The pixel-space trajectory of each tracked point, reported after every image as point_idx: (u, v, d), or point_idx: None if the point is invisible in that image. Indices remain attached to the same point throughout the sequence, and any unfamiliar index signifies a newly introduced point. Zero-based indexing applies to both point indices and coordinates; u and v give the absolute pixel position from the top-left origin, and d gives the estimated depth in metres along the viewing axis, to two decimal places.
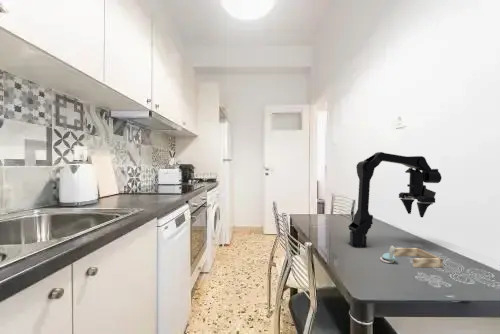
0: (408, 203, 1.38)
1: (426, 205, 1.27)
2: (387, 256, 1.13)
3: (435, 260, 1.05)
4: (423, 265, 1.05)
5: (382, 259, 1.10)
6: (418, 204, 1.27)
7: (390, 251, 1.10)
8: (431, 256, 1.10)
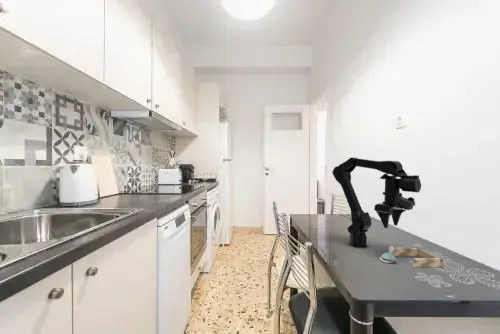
0: (396, 214, 1.23)
1: (386, 215, 1.15)
2: (386, 256, 1.13)
3: (435, 260, 1.05)
4: (423, 265, 1.05)
5: (381, 259, 1.11)
6: None
7: (389, 251, 1.10)
8: (431, 256, 1.10)
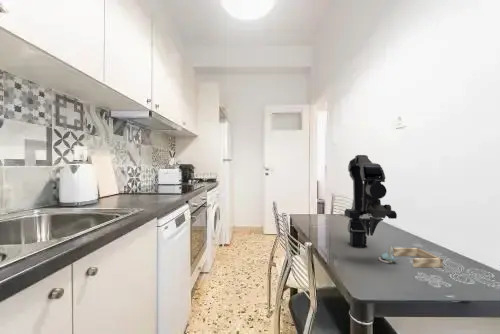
0: (372, 222, 1.11)
1: None
2: (386, 256, 1.13)
3: (435, 260, 1.05)
4: (423, 265, 1.05)
5: (381, 259, 1.11)
6: None
7: (389, 251, 1.11)
8: (431, 256, 1.10)
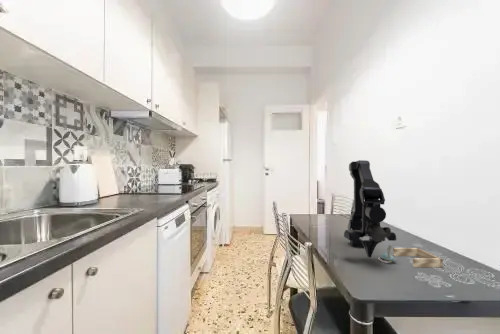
0: (370, 244, 1.11)
1: None
2: (385, 256, 1.13)
3: (435, 260, 1.05)
4: (423, 265, 1.05)
5: (380, 259, 1.11)
6: None
7: (388, 251, 1.11)
8: (431, 256, 1.10)
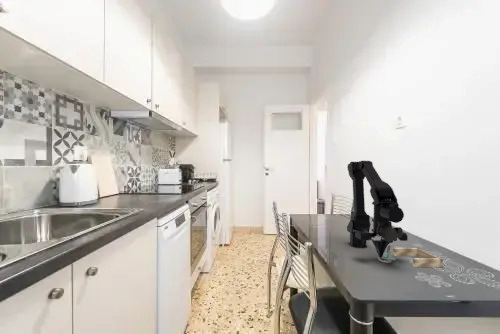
0: (381, 244, 1.11)
1: None
2: (385, 256, 1.13)
3: (435, 260, 1.05)
4: (423, 265, 1.05)
5: (380, 259, 1.11)
6: None
7: (388, 251, 1.11)
8: (431, 256, 1.10)
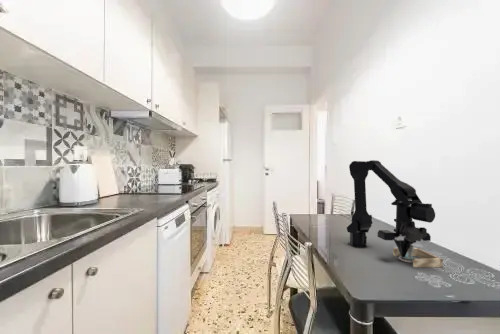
0: None
1: None
2: (405, 255, 1.14)
3: (435, 260, 1.05)
4: (423, 265, 1.05)
5: (402, 259, 1.11)
6: None
7: (409, 250, 1.12)
8: (431, 256, 1.10)
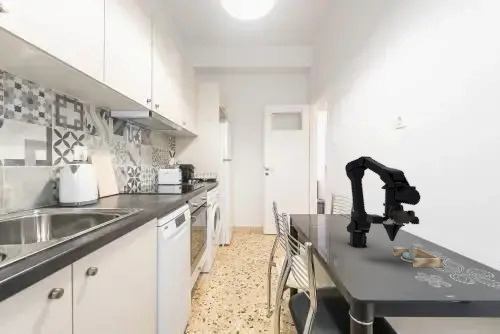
0: (393, 228, 1.11)
1: None
2: (406, 255, 1.14)
3: (435, 260, 1.05)
4: (423, 265, 1.05)
5: (404, 259, 1.11)
6: None
7: (411, 250, 1.12)
8: (431, 256, 1.10)
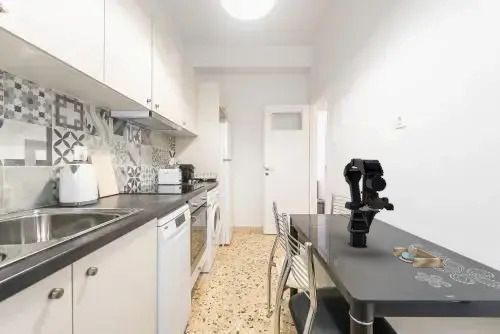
0: (370, 214, 1.18)
1: None
2: (405, 255, 1.14)
3: (435, 260, 1.05)
4: (423, 265, 1.05)
5: (404, 259, 1.11)
6: None
7: (410, 250, 1.12)
8: (431, 256, 1.10)
